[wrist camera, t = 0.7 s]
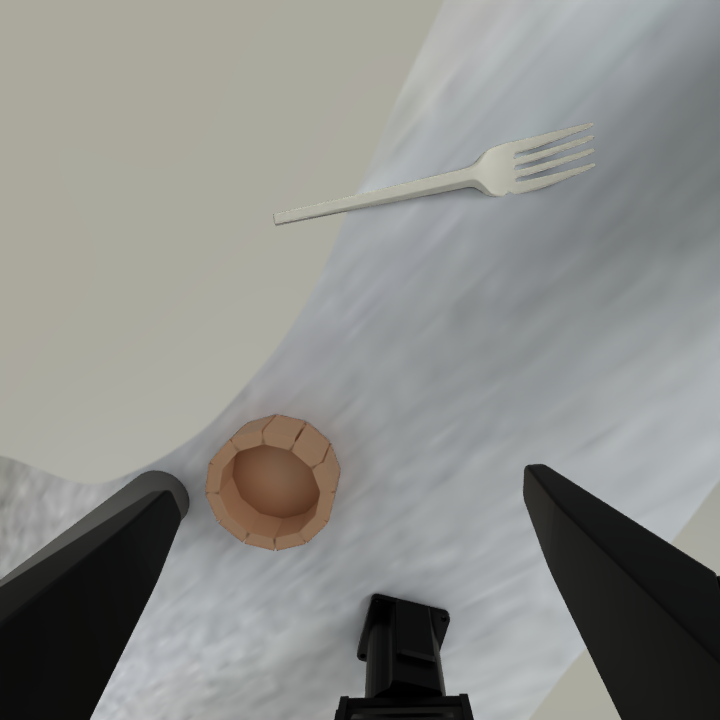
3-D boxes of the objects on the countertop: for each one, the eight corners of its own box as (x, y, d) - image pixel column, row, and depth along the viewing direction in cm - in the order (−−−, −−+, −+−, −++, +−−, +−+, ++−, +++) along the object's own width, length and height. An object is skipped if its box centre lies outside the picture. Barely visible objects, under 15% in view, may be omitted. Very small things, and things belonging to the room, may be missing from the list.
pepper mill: (185, 531, 29) (28, 721, 16) (128, 517, 29) (-73, 695, 16) (192, 478, 28) (29, 636, 15) (132, 464, 28) (-79, 609, 15)
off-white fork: (270, 197, 24) (260, 190, 22) (576, 127, 21) (593, 113, 20) (280, 245, 25) (272, 242, 23) (579, 183, 22) (596, 174, 20)
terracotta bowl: (326, 533, 28) (319, 561, 25) (218, 507, 28) (199, 532, 25) (349, 431, 26) (344, 448, 23) (234, 404, 26) (214, 418, 23)
